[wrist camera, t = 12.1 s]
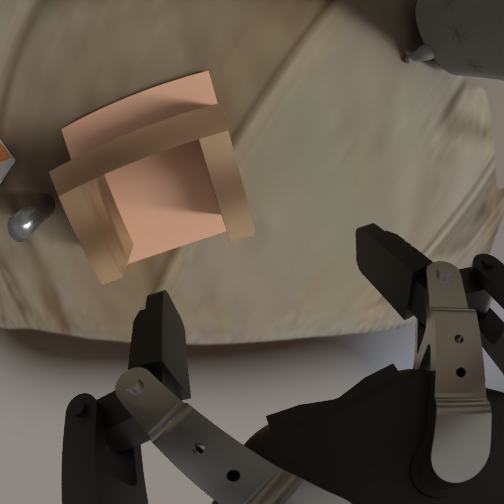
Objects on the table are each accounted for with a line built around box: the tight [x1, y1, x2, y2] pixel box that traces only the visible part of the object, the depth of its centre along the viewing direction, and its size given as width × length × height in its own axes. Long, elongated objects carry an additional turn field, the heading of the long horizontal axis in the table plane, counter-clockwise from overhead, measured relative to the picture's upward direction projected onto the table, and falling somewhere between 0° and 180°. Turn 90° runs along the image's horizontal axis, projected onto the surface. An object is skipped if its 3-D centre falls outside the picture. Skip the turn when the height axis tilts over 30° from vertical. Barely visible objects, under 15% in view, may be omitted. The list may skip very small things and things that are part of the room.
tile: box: [61, 71, 226, 264], centre depth 24 cm, size 15×14×1 cm
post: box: [8, 193, 55, 242], centre depth 20 cm, size 2×2×6 cm
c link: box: [49, 103, 256, 285], centre depth 21 cm, size 10×13×6 cm
